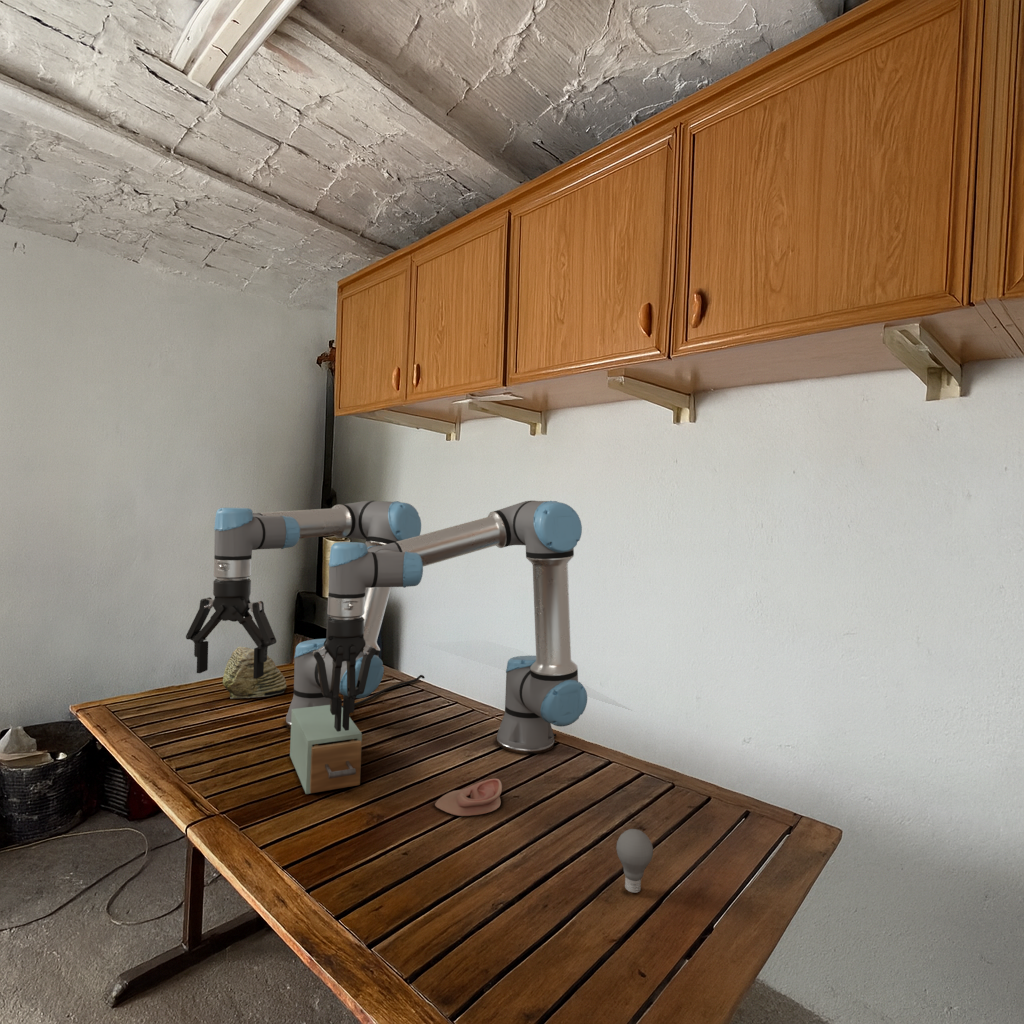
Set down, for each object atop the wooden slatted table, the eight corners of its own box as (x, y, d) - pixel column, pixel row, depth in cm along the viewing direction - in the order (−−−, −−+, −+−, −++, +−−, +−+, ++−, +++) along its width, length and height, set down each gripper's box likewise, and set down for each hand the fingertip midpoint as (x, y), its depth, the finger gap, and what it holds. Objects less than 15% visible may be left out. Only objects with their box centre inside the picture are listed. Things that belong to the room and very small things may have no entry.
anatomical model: (430, 792, 129) (447, 769, 140) (429, 811, 129) (446, 787, 140) (494, 801, 126) (506, 777, 137) (493, 821, 126) (505, 795, 138)
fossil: (218, 695, 195) (220, 647, 195) (278, 685, 208) (279, 640, 207) (228, 703, 189) (230, 653, 188) (289, 692, 201) (290, 645, 201)
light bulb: (610, 879, 108) (613, 822, 108) (644, 879, 109) (647, 822, 109) (619, 902, 102) (622, 840, 102) (655, 901, 103) (658, 840, 103)
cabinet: (360, 784, 140) (362, 733, 140) (305, 794, 135) (307, 740, 134) (338, 749, 159) (339, 703, 159) (289, 755, 154) (291, 708, 153)
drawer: (366, 796, 133) (368, 751, 133) (315, 805, 128) (317, 758, 128) (338, 750, 156) (340, 712, 156) (294, 756, 151) (296, 717, 151)
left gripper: (169, 576, 137) (167, 674, 138) (275, 583, 133) (273, 684, 133) (192, 572, 144) (190, 665, 145) (294, 579, 140) (291, 674, 141)
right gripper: (314, 621, 125) (310, 739, 126) (383, 618, 132) (379, 730, 132) (307, 614, 132) (303, 726, 132) (374, 611, 139) (369, 718, 139)
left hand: (230, 674), depth 139 cm, fingers open, 13 cm apart
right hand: (341, 728), depth 132 cm, fingers closed
